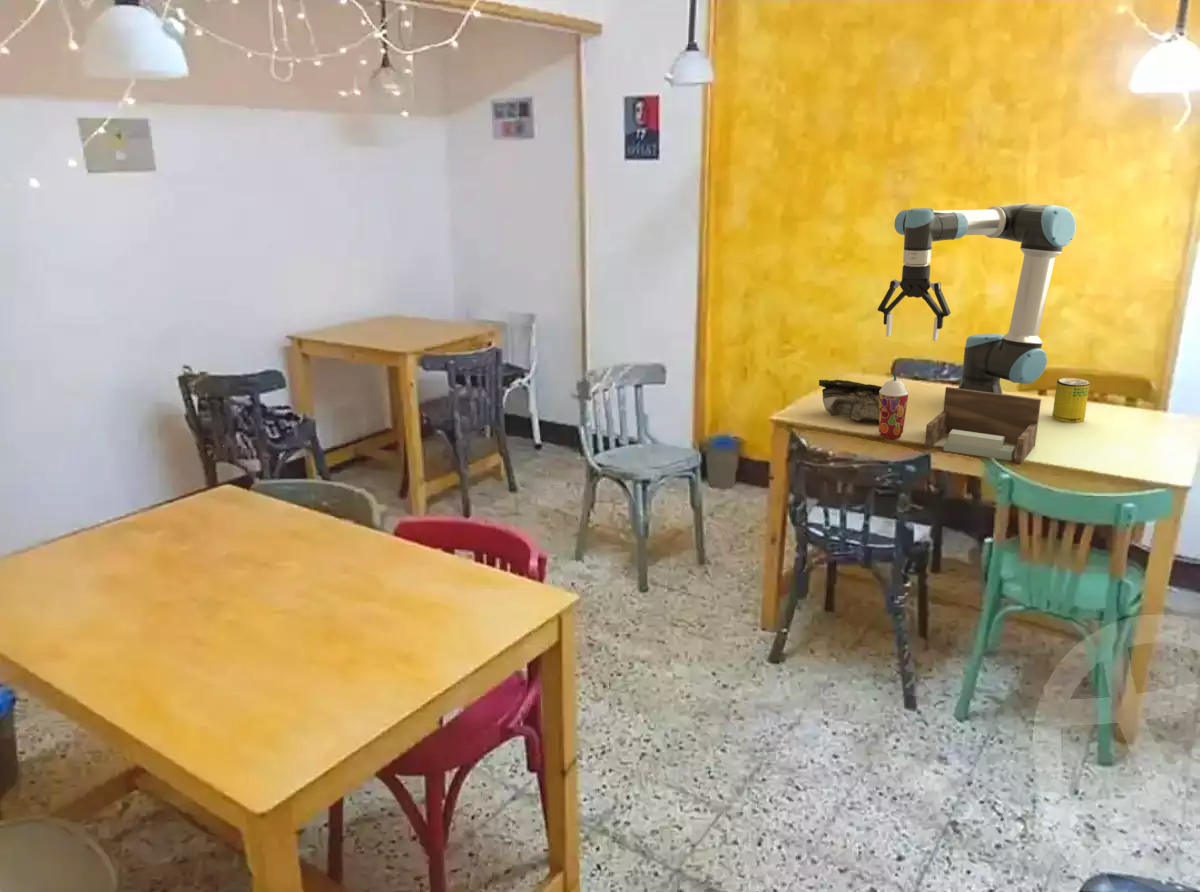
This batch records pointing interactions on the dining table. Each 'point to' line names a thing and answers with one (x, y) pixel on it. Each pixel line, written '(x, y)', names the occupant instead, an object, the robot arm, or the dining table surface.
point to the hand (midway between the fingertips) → (911, 337)
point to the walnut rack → (988, 418)
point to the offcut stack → (978, 444)
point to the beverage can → (1070, 400)
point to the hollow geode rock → (851, 398)
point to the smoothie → (892, 408)
